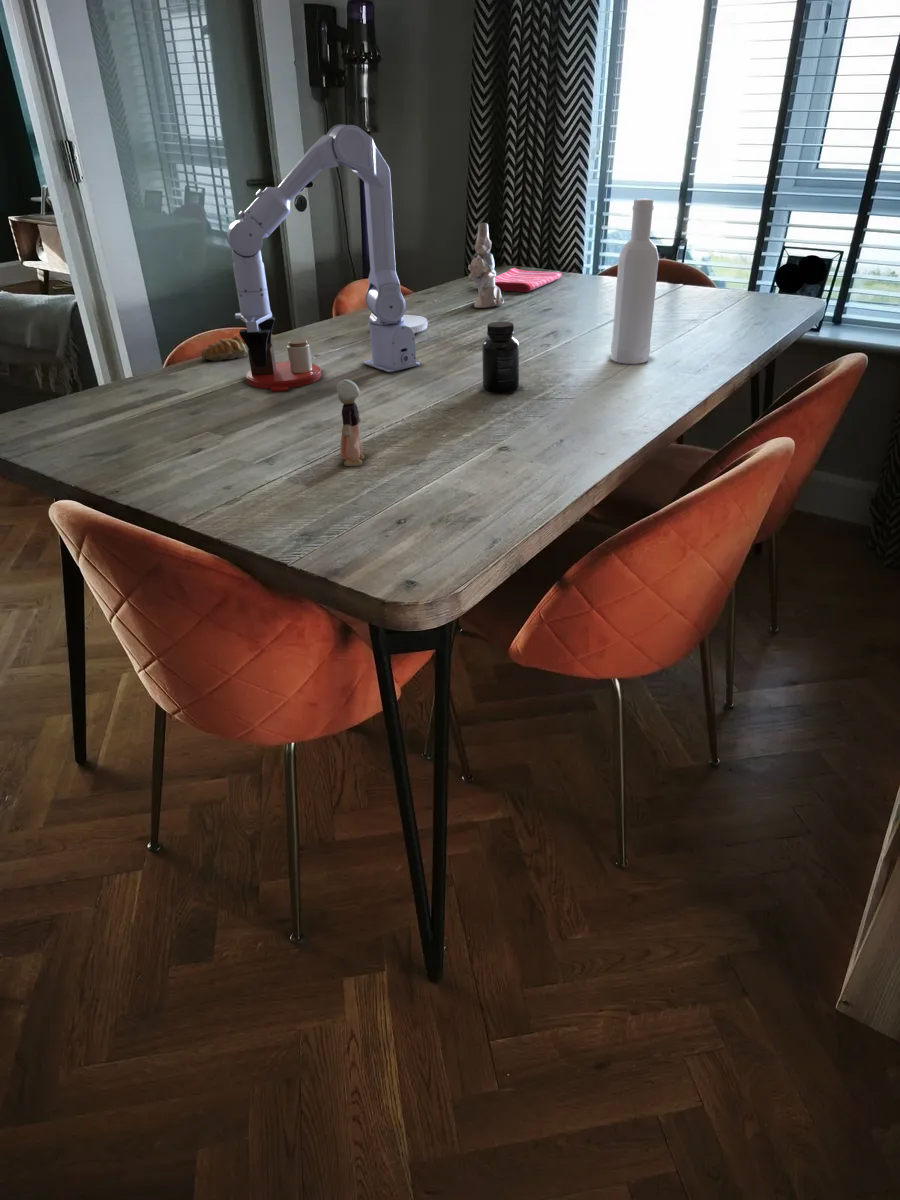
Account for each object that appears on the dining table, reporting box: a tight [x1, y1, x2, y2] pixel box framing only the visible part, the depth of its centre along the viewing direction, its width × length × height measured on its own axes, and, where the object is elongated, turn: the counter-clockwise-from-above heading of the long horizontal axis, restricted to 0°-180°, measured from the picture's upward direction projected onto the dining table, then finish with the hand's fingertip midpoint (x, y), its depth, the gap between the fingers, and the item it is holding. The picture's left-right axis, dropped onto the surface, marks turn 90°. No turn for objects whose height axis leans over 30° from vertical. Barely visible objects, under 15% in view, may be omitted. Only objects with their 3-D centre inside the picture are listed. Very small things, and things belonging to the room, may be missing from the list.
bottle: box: [610, 197, 660, 365], centre depth 159 cm, size 8×8×30 cm
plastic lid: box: [367, 314, 428, 334], centre depth 192 cm, size 14×14×2 cm
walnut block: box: [247, 343, 276, 376], centre depth 160 cm, size 4×4×5 cm
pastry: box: [201, 336, 248, 362], centre depth 176 cm, size 9×7×4 cm
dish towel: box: [495, 267, 563, 293], centre depth 237 cm, size 17×24×3 cm
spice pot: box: [286, 338, 313, 373], centre depth 160 cm, size 4×4×6 cm
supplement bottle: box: [481, 321, 520, 395], centre depth 149 cm, size 7×7×12 cm
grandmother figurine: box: [336, 379, 365, 467], centre depth 120 cm, size 8×4×13 cm, turn 5°
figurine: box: [467, 222, 505, 309], centre depth 209 cm, size 9×8×20 cm
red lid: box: [245, 360, 322, 393], centre depth 161 cm, size 17×15×1 cm
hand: (263, 360), depth 160 cm, fingers open, 7 cm apart
